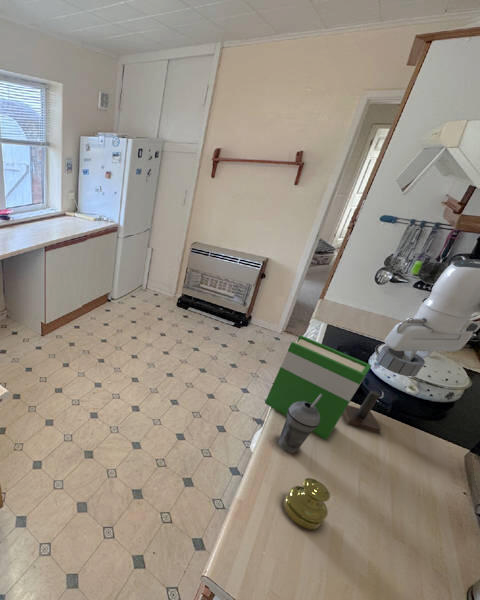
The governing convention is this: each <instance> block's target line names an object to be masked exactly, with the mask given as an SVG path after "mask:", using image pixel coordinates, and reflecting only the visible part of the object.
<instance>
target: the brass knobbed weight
mask: <svg viewBox="0 0 480 600" xmlns="http://www.w3.org/2000/svg"><path fill="white" fill-rule="evenodd" d="M330 498H331V493H330V491H329V489H328V488H327V487H326V486H325V484H324V483H322V482H320V481H319V480H317V479H314V478H312V477H311V478H310V477H309V478H305V479H303V481H302V486H301V485H295V486H292V487H291V488H289V492H288V493H287V494H286V496H285V498H284V500H283V507H284V510H285V513H286V514H287V516H288V517H289V518H290V519H291V520H292V521H293V522H294V523H296V524H297V525H298V526H300V527H301V528H304V529H307V530H317V529H318V528H319V527H320V525H322V524H323V522H324V520H325V519H326V518H327V516H328V508H327V504H326V503H325V502H327V501H329V500H330Z"/></svg>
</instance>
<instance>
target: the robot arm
mask: <svg viewBox="0 0 480 600" xmlns="http://www.w3.org/2000/svg"><path fill="white" fill-rule="evenodd" d="M475 313H480V259H474V258H464V259H460V260H456V261H454V262H452V263H451V264H449V265H448V266H447V267H446V268H445V269H444V270H443V272H441V274H440V276H439V277H438V278H437V280H436V282H435V283H434V284H433V286H432V288H431V293H430V295H429V296H428V297H427V298H426V299H425V300H424V301H423V302H422V304H421V305H420V307H419V309H418V310H417V312H416V313H415V315H414V316H413V318H412V317H411V318H406V319H405V320H403V321H401V322H399V323H397V324H396V325H394V327H393V328H392V329H391V330H390V332H389V333H388V335H387V336H386V337H385V339H384V344H385V346H388V347H390V348H392V349H393V350H395V351H404V354H405V355H404V356H403V358H402V359H403V360H406V361H410V362H413V361H414V360H415V358H414V357H413V356H414V353H415V354H417V355H419V356H420V357H421V358H422V359H423V360H425V359H426V358H427V357H429V356H430V355H432V354H433V353H434V352H457V351H460V350H461V349H463V348H464V347H465V346H466V344H467V343H468V342H469V341H470V339H471V338H472V336H473V334H474V332H477V331H478V330H479V329H480V323H479V322H476V321H474V320H471V319H470V318H471V317H472V316H473V314H475Z"/></svg>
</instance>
